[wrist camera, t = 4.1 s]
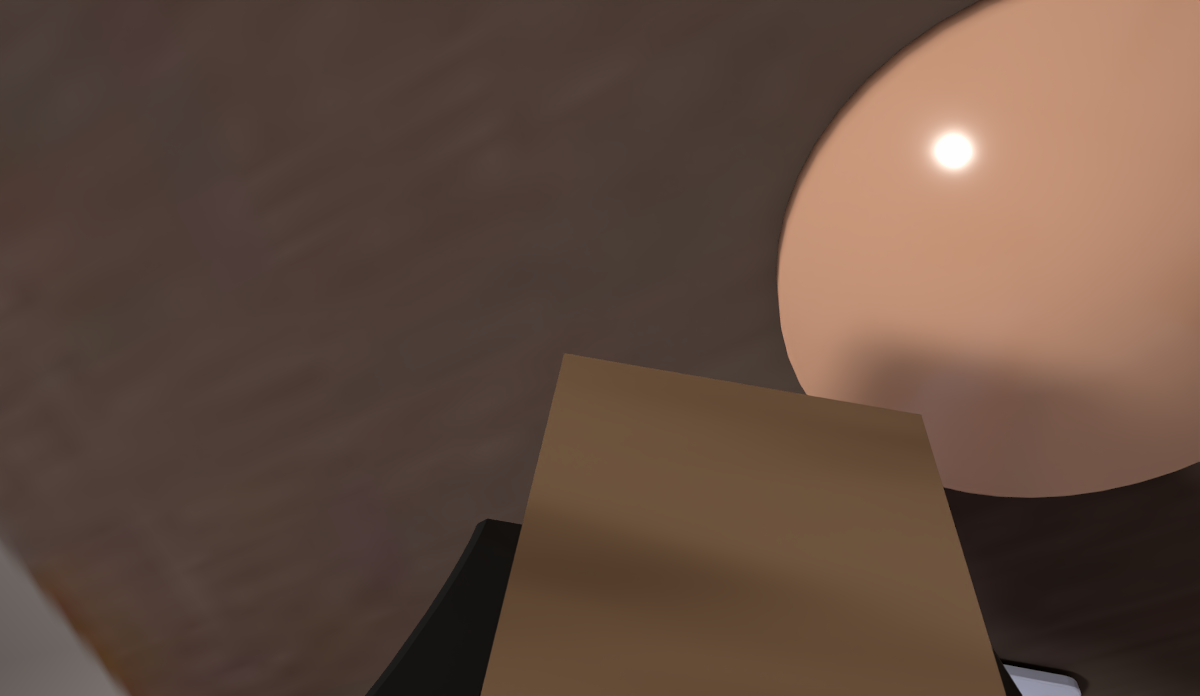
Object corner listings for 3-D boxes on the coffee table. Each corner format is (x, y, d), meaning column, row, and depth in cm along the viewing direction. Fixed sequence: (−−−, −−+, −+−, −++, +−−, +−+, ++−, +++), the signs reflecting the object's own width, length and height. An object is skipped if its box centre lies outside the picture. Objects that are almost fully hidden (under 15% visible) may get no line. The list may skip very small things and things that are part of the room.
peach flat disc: (1189, 503, 20) (1208, 536, 20) (723, 420, 20) (723, 448, 20) (1557, 23, 14) (1608, 41, 13) (875, -98, 14) (886, -87, 13)
